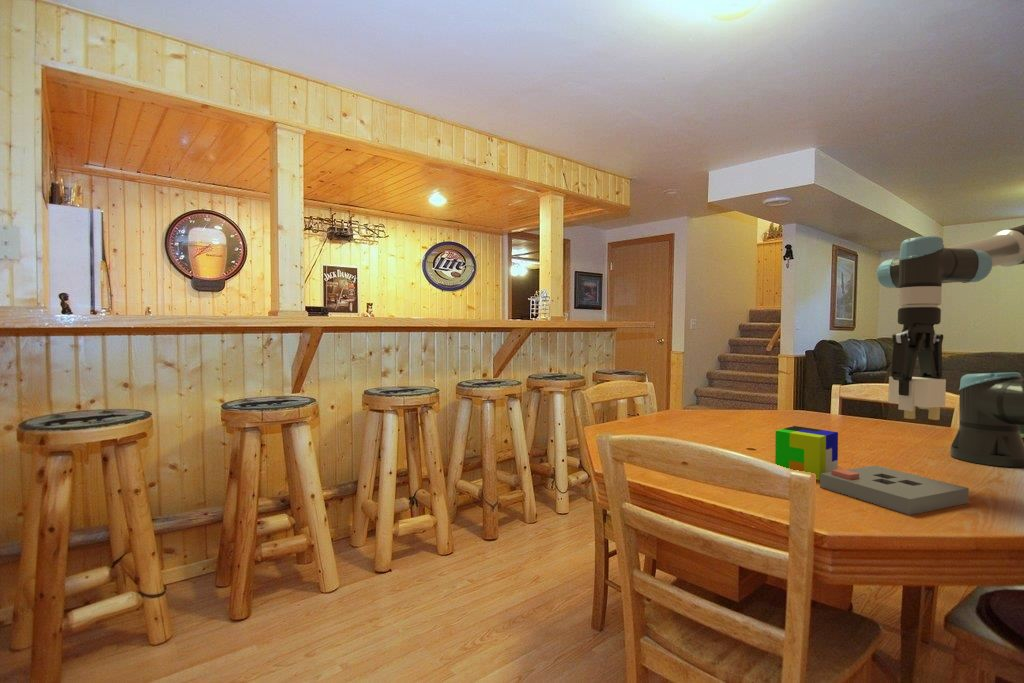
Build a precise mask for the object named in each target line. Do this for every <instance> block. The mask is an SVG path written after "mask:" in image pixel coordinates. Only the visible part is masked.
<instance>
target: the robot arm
mask: <svg viewBox="0 0 1024 683" xmlns="http://www.w3.org/2000/svg"><path fill="white" fill-rule="evenodd" d="M1017 265H1018V266H1019V265H1024V224H1022V225H1018V226H1015V227H1011V228H1007V229H1003V230H1000V231H997V232H996V233H994V234H993V235H992V236H990V237H987V238H982V239H978V240H973V241H969V242H968V241H967V242H964V243H959V244H954V245H951V246H947V247H945V244H944V240H943V238H942V237H939V236H937V235H926V236H916V237H911V238H906V239H905V240H902V242H901V243H900V249H899V257H893V258H892V259H891V258H889V259H887V260H884V261H882V262H881V263H880V264H879V265H878V268H877V270H876V277H877V281H878V282H879V284H880V285H881V286H883V287H885V288H887V289H891V288H892V289H895V288H896V289H898V306H901V308H900V307H899V308H898V309H897V323H898V325H902V330H901V332H899V333H893V334H892V336H891V338H892V343H893V347H892V360H891V374H890V375H891V376H890V377H893V379H894V380H899V392H898V393H899V401H898V404H897V405H898V406H897V407H898V408H897V409H898V410H901V411H904V410H906V411H914V382H912V381H911V380H912V377H914V371H915V369H916V368H915V367H916V365H917V364H916V363H917V360H918V365H919V370H920V375H921V377H922V378H934V379H942V377H943V342H944V334H941V333H936V332H935V329H934V328H935V327H934V326H935V325H940V324H941V320H942V309H941V308H940V307H939V306H941V305H942V286H943V284H948V283H950V284H951V283H962V284H967V283H977V282H978V283H979V282H980V281H982V280H984V279H985V278H986V277H988V276H989V274H990V273H991V271H992V269H993V267H996V266H997V267H998V266H1001V267H1013V266H1017ZM959 383H960V384H959V388H958V392H959V401H958V403H959V409H958V411H959V428H958V430H957V432H956V435H955V437H954V439H953V441H952V443H951V445H950V452H949V453H950V456H951V457H952V458H955V459H958V460H960V461H965V462H969V463H974V464H980V465H987V466H988V465H989V466H994V467H1006V468H1007V467H1009V468H1022V467H1023V468H1024V440H1023V437H1022V435H1021V426H1022V427H1024V378H1023V376H1022V374H1021V373H1020V372H1016V371H1015V372H1013V371H1012V372H985V373H984V372H983V373H981V372H980V373H967V374H964V375H962V376H961V377H960V382H959ZM917 408H918V409H921V410H928V411H929V408H926V407H918V406H917Z"/></svg>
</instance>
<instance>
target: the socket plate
mask: <svg viewBox="0 0 1024 683" xmlns="http://www.w3.org/2000/svg"><path fill="white" fill-rule="evenodd" d="M819 487H820V488H821V487H822V489H824V488H825V490H828V491H831V492H834V493H837V494H840V493H841V494H840V495H844V494H845V495H844V496H847V495H848V496H847V497H850V496H851V498H853V497H854V498H853V499H856V498H858V499H857V500H859V499H860V500H859V501H863V500H864V501H863V502H866V501H867V502H866V503H869V502H870V504H872V503H873V505H875V504H876V506H879V507H883V508H885V509H889V510H892V511H895V512H897V513H901V514H904V515H908V516H912V515H917V514H922V513H927V512H931V511H936V510H940V509H946V508H950V507H956V506H959V505H960V506H961V505H964V504H965V505H966V504H969V493H970V492H969V489H970V488H969V487H967V486H962V485H958V484H954V483H949V482H945V481H941V480H937V479H933V478H929V477H924V476H921V475H918V474H917V475H916V474H912V473H908V472H904V471H900V470H895V469H892V468H888V467H884V466H879V465H870V466H862V467H856V468H850V469H849V468H848V469H844V468H838V469H836V470H831V472H828V473H821V474H820V480H819Z"/></svg>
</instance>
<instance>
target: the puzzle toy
mask: <svg viewBox="0 0 1024 683" xmlns="http://www.w3.org/2000/svg"><path fill="white" fill-rule="evenodd" d="M774 450H775V452H774V453H775V456H774V457H775V464H777V465H780V466H783V467H786V468H790V469H793V470H799V471H805V472H811V473H815V474H816V478H817V480H816V481H820V474H821V473H828V472H831V470H836V469H839V466H838V464H839V463H838V462H839V460H838V459H839V432H838V431H832V430H825V429H818V428H812V427H804V426H798V425H793V426H789V427H786V428H785V427H784V428H781V429H777V430H775V449H774Z"/></svg>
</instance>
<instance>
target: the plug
mask: <svg viewBox="0 0 1024 683" xmlns="http://www.w3.org/2000/svg"><path fill="white" fill-rule="evenodd" d="M911 381H912V382H914V411H906V410H903V411H904V412H903V418H904V419H907V420H909V419H910V420H914V419H916V407H917V408H918V407H926V408H929V410H928V415H927V416H928V417H927V418H928V420H934V421H939V420H940V417H941V416H940V415H941V414H940V413H941V408H945V407H946V391H947V388H946V386H947V379H946V378H943V379H942V378H941V379H934V378H922V376H921V377H920V376H912V380H911ZM898 392H899V380H894V379H893V377H892V376H888V403H889V404H897V405H898V401H899V393H898Z"/></svg>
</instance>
